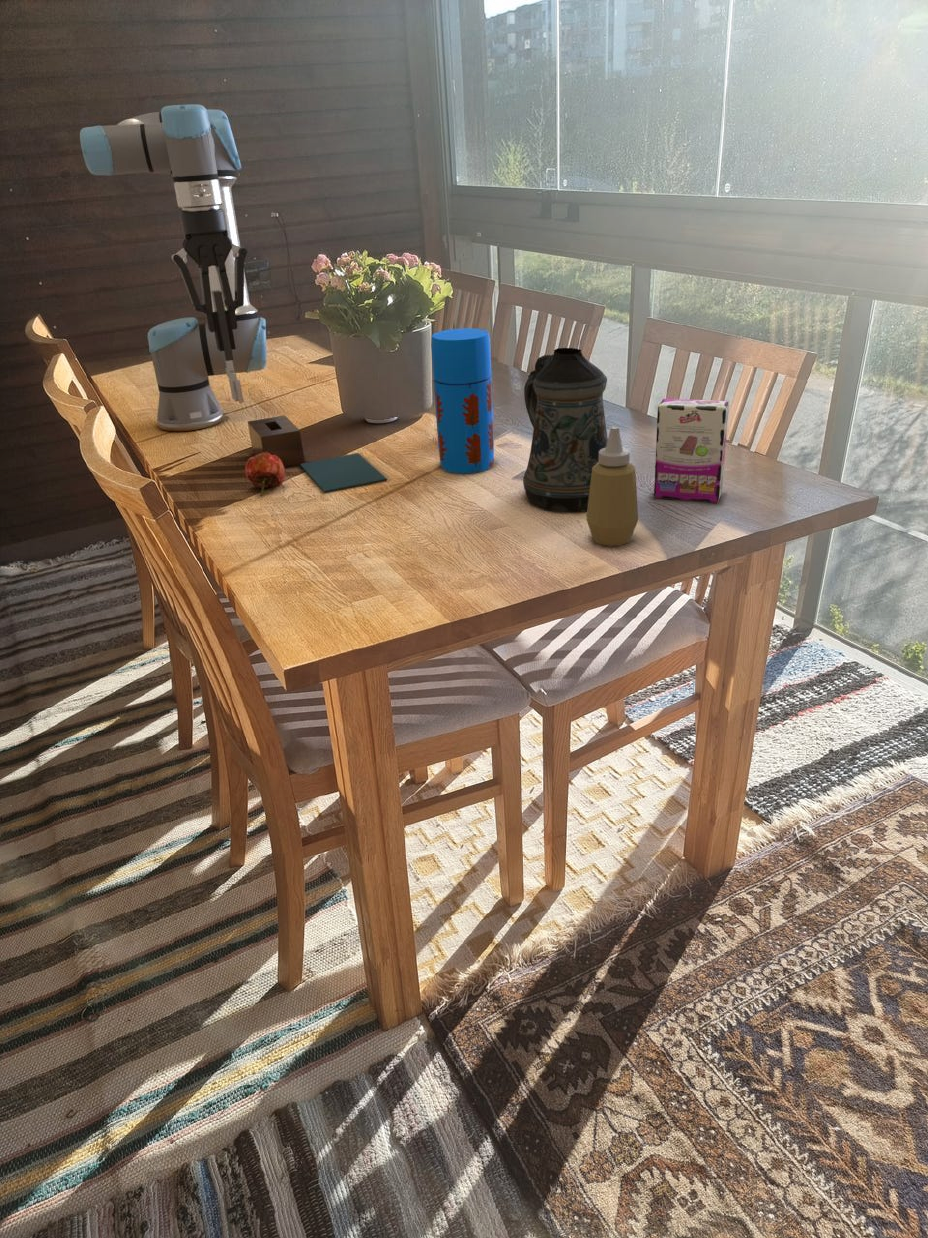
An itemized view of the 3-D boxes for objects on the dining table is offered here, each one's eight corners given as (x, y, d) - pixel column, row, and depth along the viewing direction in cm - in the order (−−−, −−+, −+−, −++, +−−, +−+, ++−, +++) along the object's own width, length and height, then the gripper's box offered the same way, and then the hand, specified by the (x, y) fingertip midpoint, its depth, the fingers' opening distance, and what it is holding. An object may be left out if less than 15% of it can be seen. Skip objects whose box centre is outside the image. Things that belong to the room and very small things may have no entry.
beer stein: (592, 519, 146) (595, 367, 134) (492, 501, 156) (486, 358, 144) (631, 487, 158) (637, 344, 146) (536, 472, 168) (534, 337, 156)
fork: (229, 397, 169) (209, 289, 160) (237, 395, 170) (218, 288, 161) (235, 403, 165) (215, 293, 155) (243, 402, 165) (224, 292, 156)
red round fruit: (286, 504, 166) (297, 459, 170) (267, 483, 160) (278, 437, 164) (252, 506, 169) (263, 462, 173) (232, 485, 163) (244, 440, 166)
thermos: (501, 457, 177) (497, 328, 164) (484, 475, 168) (478, 340, 156) (450, 454, 180) (442, 327, 168) (431, 471, 171) (421, 339, 159)
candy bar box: (722, 493, 153) (731, 399, 145) (718, 503, 149) (727, 408, 141) (657, 488, 157) (662, 396, 149) (652, 498, 153) (657, 404, 145)
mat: (300, 465, 179) (299, 463, 179) (358, 454, 183) (358, 452, 183) (324, 492, 164) (324, 490, 164) (386, 480, 168) (386, 478, 168)
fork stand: (253, 453, 188) (247, 421, 184) (289, 447, 190) (284, 415, 187) (266, 470, 177) (260, 437, 174) (305, 463, 180) (300, 430, 176)
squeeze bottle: (581, 531, 142) (582, 421, 134) (630, 527, 143) (634, 417, 134) (591, 551, 135) (593, 437, 127) (643, 547, 136) (649, 433, 127)
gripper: (161, 212, 146) (190, 357, 157) (247, 205, 151) (269, 346, 162) (155, 211, 152) (183, 350, 163) (238, 204, 157) (260, 340, 168)
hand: (226, 348), depth 163 cm, fingers closed on fork, 1 cm apart
